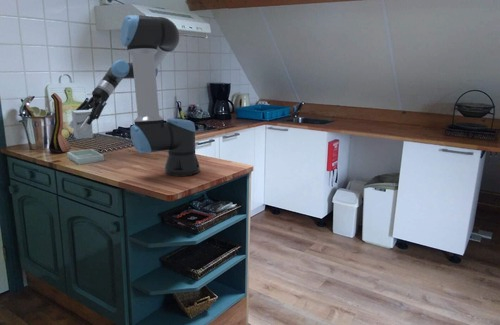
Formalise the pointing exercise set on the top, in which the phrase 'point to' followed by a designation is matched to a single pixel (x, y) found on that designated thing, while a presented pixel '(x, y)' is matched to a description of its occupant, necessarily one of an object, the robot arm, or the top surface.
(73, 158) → the tray
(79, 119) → the supplement box
